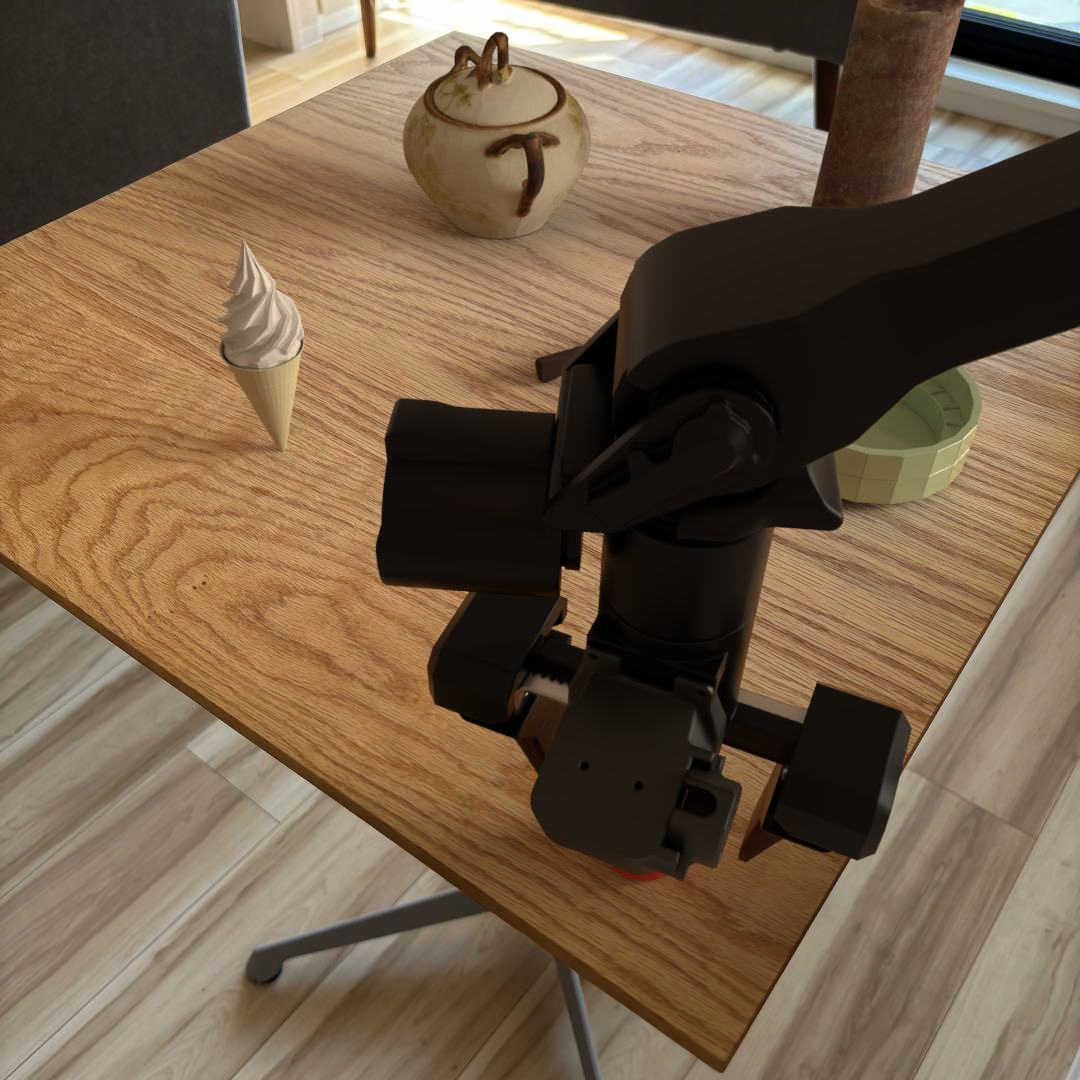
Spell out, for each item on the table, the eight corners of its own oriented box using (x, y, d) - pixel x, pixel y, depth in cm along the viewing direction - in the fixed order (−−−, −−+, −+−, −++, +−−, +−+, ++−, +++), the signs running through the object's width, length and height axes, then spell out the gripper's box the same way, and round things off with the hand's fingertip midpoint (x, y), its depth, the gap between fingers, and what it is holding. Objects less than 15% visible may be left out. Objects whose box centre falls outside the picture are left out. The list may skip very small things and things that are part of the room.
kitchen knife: (539, 388, 78) (539, 364, 77) (532, 380, 79) (533, 357, 77) (757, 321, 84) (761, 298, 83) (749, 315, 85) (753, 291, 83)
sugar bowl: (626, 259, 90) (639, 70, 79) (444, 292, 86) (433, 98, 76) (543, 150, 103) (545, -25, 93) (382, 174, 100) (366, -4, 89)
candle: (917, 256, 91) (989, -6, 77) (838, 274, 89) (898, 8, 75) (864, 211, 96) (923, -42, 82) (788, 227, 94) (835, -30, 80)
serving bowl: (976, 410, 77) (996, 355, 74) (943, 535, 68) (964, 479, 65) (786, 362, 80) (797, 308, 77) (732, 475, 72) (742, 420, 69)
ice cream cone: (336, 436, 74) (305, 230, 64) (293, 483, 71) (253, 274, 60) (272, 415, 76) (231, 210, 65) (226, 460, 72) (176, 252, 62)
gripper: (337, 660, 38) (380, 889, 49) (897, 865, 33) (804, 1069, 44) (481, 460, 45) (490, 698, 56) (959, 602, 40) (865, 834, 51)
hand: (647, 815), depth 52 cm, fingers open, 9 cm apart
